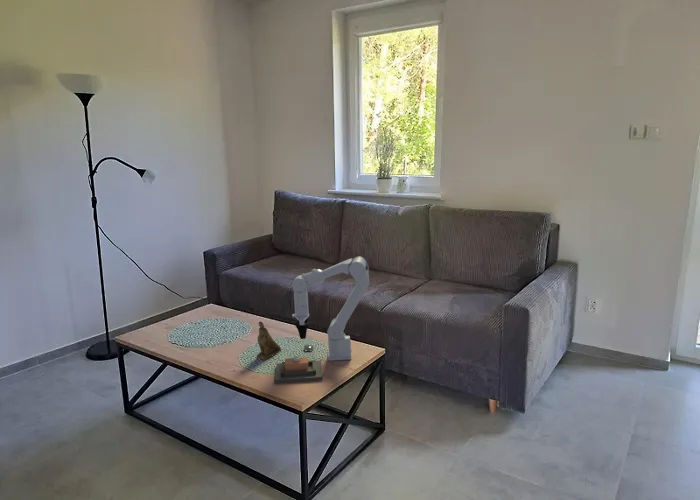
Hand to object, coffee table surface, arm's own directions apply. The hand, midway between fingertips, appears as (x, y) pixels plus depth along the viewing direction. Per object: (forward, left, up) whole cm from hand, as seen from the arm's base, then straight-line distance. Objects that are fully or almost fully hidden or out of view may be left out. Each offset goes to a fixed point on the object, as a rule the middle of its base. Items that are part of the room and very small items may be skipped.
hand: (303, 334), depth 209 cm
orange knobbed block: (+3, +16, -8) cm, 18 cm away
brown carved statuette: (+15, -4, -10) cm, 18 cm away
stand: (+2, +16, -9) cm, 19 cm away
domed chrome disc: (-2, -6, -10) cm, 12 cm away
